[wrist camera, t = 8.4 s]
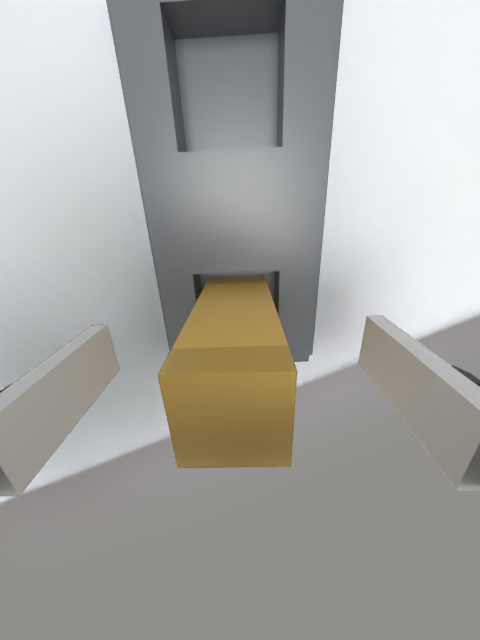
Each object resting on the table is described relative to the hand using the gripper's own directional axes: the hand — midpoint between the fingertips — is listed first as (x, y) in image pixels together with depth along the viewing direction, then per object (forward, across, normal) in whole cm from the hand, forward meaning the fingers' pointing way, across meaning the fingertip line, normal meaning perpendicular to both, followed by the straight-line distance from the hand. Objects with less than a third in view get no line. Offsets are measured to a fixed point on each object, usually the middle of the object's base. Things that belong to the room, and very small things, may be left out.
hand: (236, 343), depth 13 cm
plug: (+7, 0, 0) cm, 7 cm away
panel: (+8, 0, +6) cm, 10 cm away
